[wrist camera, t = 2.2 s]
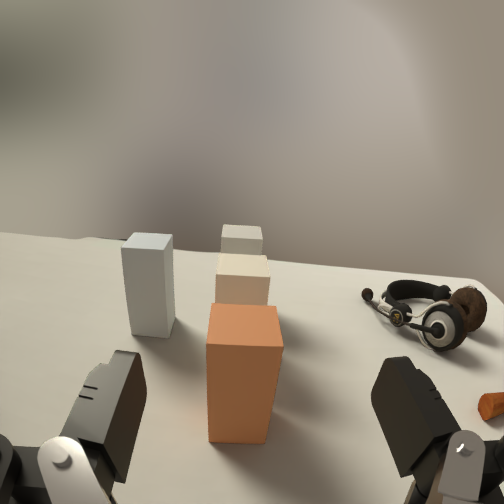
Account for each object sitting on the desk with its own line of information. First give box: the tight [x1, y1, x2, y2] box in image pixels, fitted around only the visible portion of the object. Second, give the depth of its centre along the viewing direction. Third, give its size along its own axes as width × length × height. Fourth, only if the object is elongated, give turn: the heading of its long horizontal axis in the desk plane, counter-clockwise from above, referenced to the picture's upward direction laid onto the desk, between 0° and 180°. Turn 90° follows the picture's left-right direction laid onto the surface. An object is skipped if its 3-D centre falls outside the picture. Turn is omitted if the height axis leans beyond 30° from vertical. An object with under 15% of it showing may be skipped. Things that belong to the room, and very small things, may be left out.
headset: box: [362, 280, 487, 351], centre depth 44 cm, size 17×8×20 cm
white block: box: [121, 233, 175, 339], centre depth 37 cm, size 5×5×12 cm
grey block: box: [221, 225, 263, 255], centre depth 43 cm, size 5×5×12 cm
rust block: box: [206, 303, 284, 444], centre depth 24 cm, size 5×5×12 cm
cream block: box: [215, 253, 270, 306], centre depth 33 cm, size 5×5×12 cm
